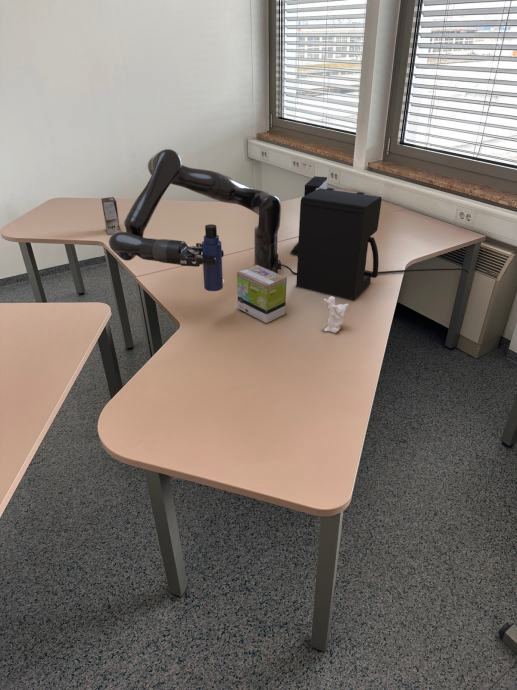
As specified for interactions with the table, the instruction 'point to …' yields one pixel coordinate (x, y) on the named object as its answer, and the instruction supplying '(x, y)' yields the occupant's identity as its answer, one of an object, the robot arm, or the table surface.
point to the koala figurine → (335, 315)
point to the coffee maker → (337, 241)
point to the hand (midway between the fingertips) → (219, 257)
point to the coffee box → (110, 215)
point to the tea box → (261, 293)
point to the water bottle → (212, 249)
